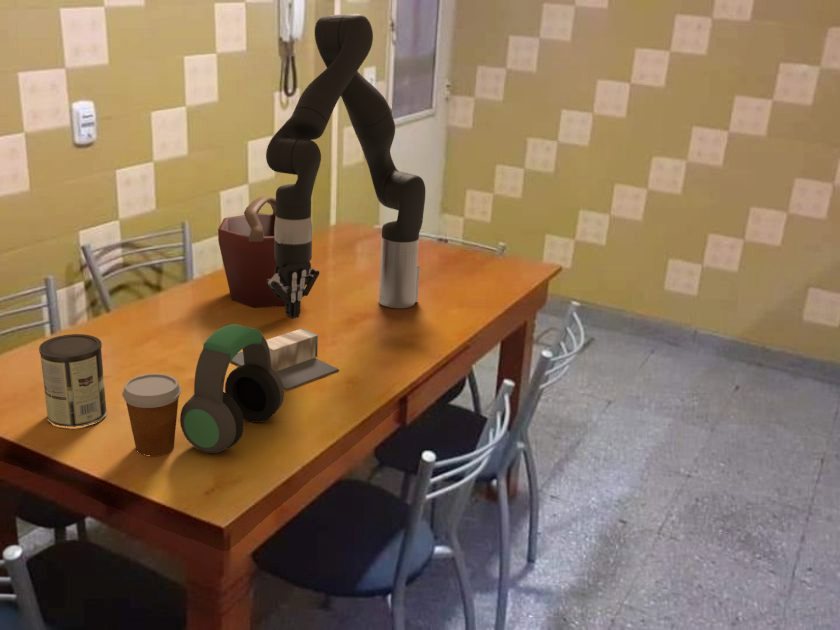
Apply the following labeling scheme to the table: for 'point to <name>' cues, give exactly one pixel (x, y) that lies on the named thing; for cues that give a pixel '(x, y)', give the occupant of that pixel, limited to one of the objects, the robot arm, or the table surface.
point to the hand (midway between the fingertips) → (292, 317)
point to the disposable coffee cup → (152, 412)
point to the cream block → (292, 348)
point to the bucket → (250, 255)
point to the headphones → (230, 389)
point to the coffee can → (73, 380)
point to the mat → (297, 371)
